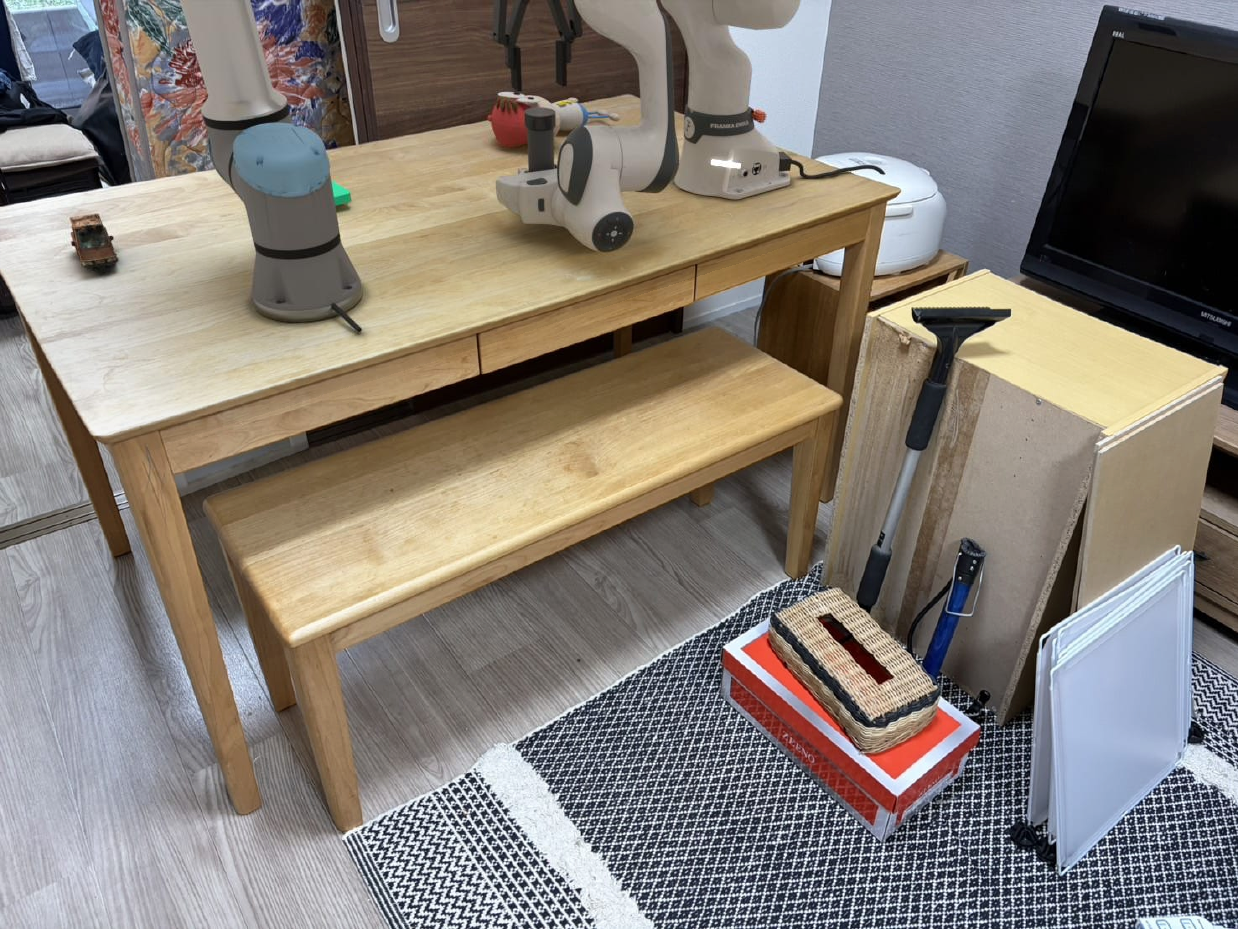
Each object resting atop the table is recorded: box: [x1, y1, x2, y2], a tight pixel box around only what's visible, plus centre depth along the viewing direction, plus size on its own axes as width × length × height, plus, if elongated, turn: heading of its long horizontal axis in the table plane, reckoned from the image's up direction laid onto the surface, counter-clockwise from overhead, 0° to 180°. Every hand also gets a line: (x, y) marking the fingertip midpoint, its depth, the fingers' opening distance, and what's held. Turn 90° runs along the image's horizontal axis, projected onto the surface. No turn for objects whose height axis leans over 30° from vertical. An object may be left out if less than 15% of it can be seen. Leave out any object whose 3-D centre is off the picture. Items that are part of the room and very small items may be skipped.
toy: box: [487, 91, 621, 148], centre depth 195 cm, size 18×10×30 cm
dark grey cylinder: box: [527, 128, 555, 173], centre depth 159 cm, size 4×4×16 cm
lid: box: [524, 107, 556, 130], centre depth 155 cm, size 5×5×2 cm
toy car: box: [69, 213, 120, 274], centre depth 141 cm, size 6×12×7 cm, turn 39°
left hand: (539, 86), depth 152 cm, fingers open, 7 cm apart
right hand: (539, 170), depth 161 cm, fingers open, 5 cm apart
